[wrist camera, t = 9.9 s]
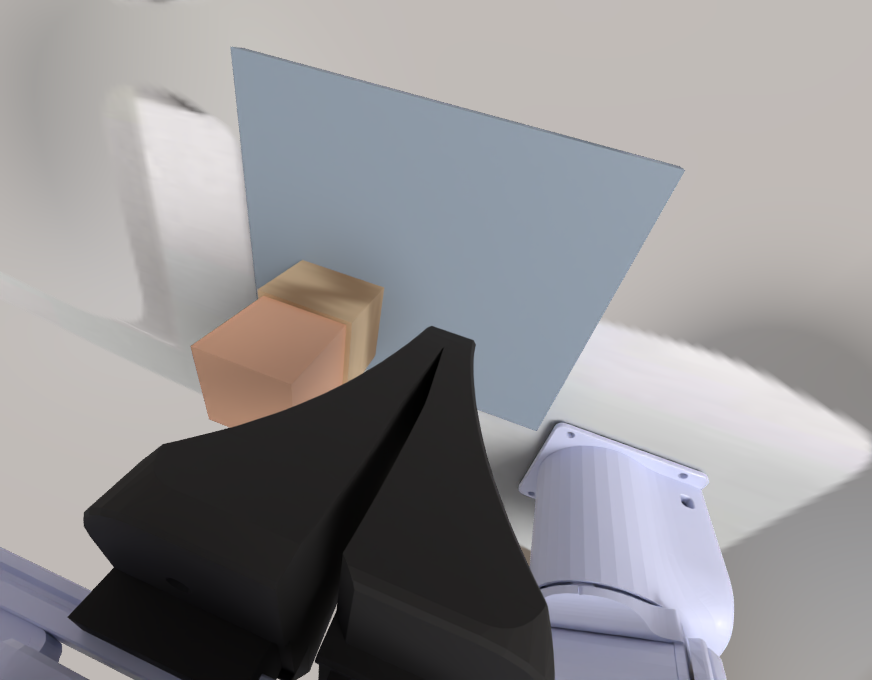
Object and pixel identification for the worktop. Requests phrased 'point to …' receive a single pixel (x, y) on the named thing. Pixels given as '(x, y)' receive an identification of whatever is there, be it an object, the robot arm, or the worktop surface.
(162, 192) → the worktop surface
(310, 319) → the terracotta block
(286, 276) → the oak base block
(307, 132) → the board
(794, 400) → the worktop surface
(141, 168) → the worktop surface
